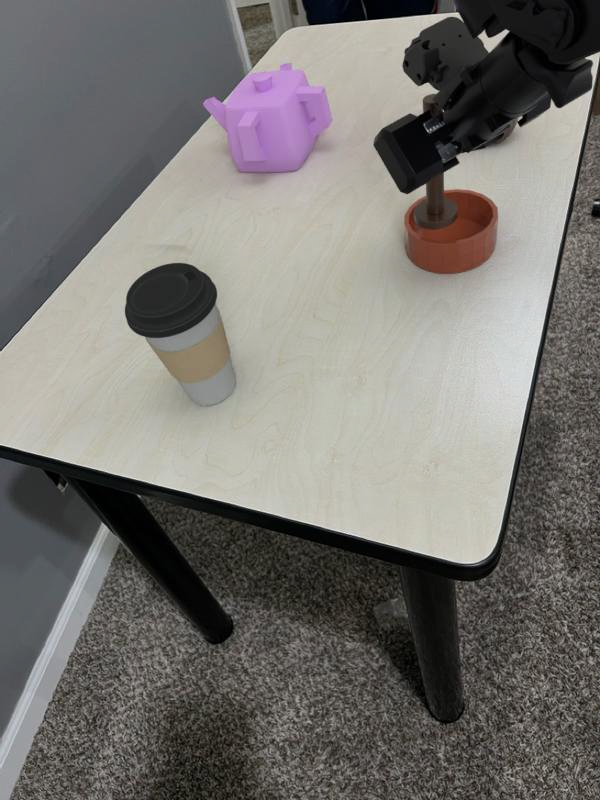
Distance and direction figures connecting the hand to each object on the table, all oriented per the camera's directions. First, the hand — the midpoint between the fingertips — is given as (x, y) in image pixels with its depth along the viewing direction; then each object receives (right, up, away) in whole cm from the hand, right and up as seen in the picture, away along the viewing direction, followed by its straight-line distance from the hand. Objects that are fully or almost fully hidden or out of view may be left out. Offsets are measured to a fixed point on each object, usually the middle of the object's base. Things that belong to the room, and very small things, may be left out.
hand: (426, 158), depth 66 cm
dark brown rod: (+2, -5, +4) cm, 7 cm away
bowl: (+5, -7, +11) cm, 14 cm away
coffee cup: (-24, -25, +3) cm, 35 cm away
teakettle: (-18, +16, +35) cm, 42 cm away
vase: (+15, +13, +25) cm, 32 cm away
